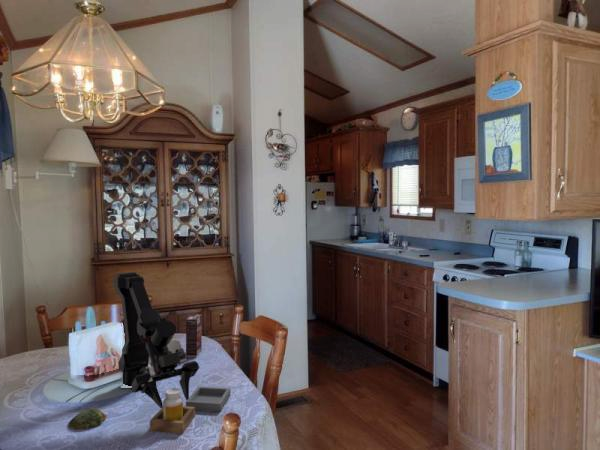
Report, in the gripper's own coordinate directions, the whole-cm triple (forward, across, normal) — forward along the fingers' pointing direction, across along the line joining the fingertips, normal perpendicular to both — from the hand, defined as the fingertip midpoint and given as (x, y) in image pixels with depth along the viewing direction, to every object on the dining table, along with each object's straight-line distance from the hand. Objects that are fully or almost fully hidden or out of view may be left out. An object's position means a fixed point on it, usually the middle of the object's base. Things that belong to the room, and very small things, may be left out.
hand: (174, 403), depth 121 cm
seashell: (-8, -18, +18) cm, 27 cm away
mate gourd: (-38, +10, +47) cm, 61 cm away
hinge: (-28, +16, +38) cm, 50 cm away
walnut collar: (+4, 0, +6) cm, 7 cm away
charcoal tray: (0, +14, +10) cm, 17 cm away
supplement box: (-30, +30, +40) cm, 58 cm away
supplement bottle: (+4, 0, +6) cm, 7 cm away
